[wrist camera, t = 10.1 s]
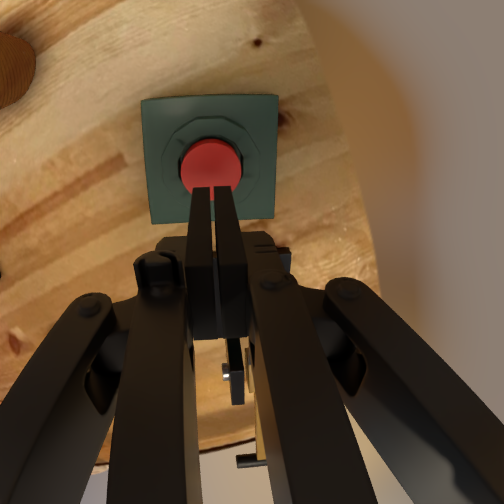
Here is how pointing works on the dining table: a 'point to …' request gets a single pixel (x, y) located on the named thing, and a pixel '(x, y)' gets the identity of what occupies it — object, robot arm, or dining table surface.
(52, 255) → the dining table surface
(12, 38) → the disposable coffee cup
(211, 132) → the button housing
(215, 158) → the button
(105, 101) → the dining table surface
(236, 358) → the switch bracket
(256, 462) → the switch lever
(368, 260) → the dining table surface
